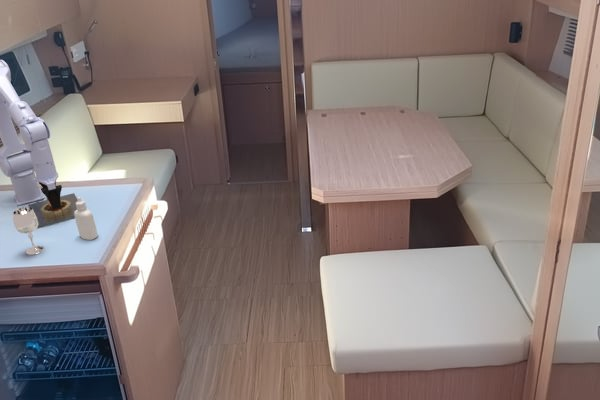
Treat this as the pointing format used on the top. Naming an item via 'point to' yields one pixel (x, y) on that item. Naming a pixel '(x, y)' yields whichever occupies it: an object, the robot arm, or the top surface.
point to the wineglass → (27, 226)
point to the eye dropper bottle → (85, 221)
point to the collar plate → (55, 216)
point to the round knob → (51, 206)
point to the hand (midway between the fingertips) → (54, 203)
